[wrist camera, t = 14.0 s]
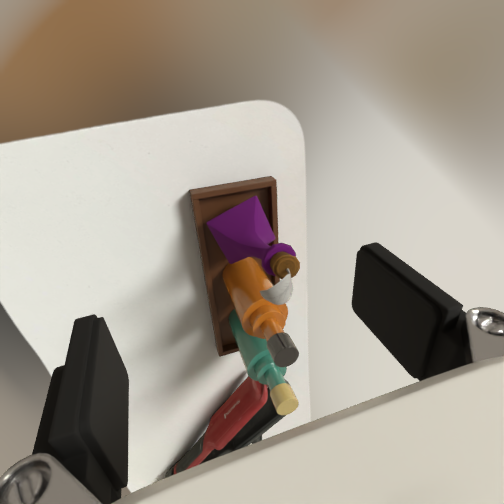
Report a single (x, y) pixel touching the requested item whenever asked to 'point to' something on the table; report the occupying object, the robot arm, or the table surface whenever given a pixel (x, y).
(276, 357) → the amber bottle
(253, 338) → the sea-green bottle
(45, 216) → the table surface
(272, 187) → the tray
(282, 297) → the perfume bottle
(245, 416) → the hair straightener
